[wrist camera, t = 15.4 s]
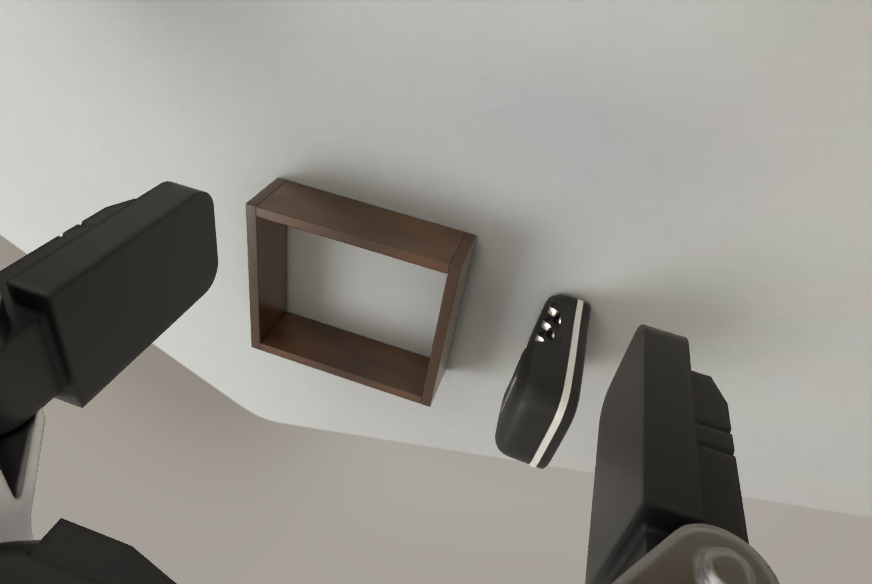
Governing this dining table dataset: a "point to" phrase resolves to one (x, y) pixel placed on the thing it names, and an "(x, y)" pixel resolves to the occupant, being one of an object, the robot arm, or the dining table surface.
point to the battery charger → (545, 384)
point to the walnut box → (364, 230)
